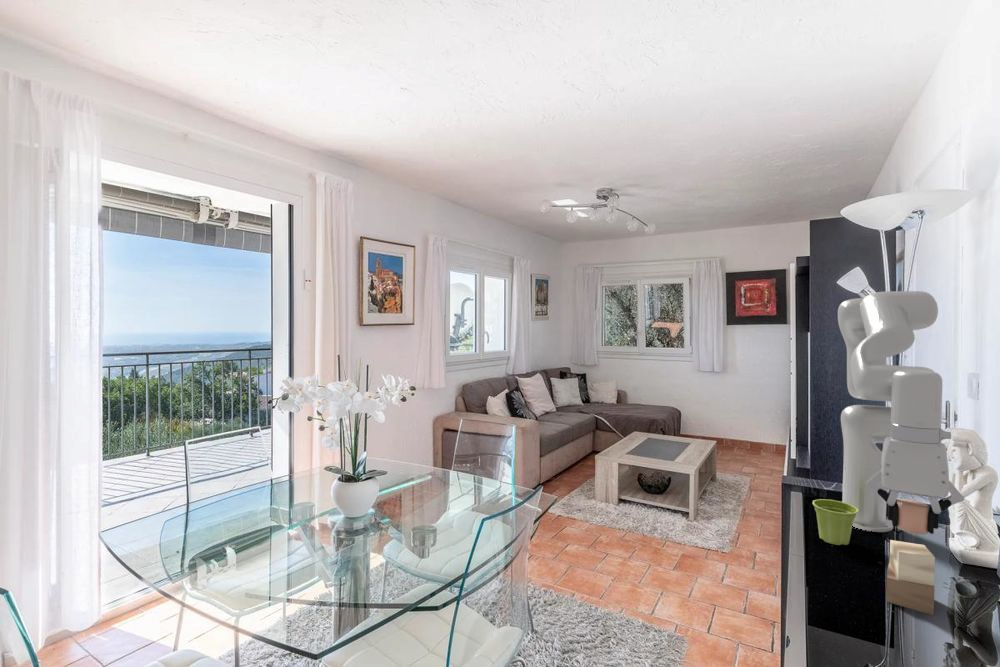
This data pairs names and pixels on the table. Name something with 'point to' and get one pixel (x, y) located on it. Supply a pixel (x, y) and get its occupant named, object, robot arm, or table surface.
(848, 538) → the plant pot
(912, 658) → the table surface
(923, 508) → the peach rounded solid
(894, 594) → the walnut block
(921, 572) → the beech block
